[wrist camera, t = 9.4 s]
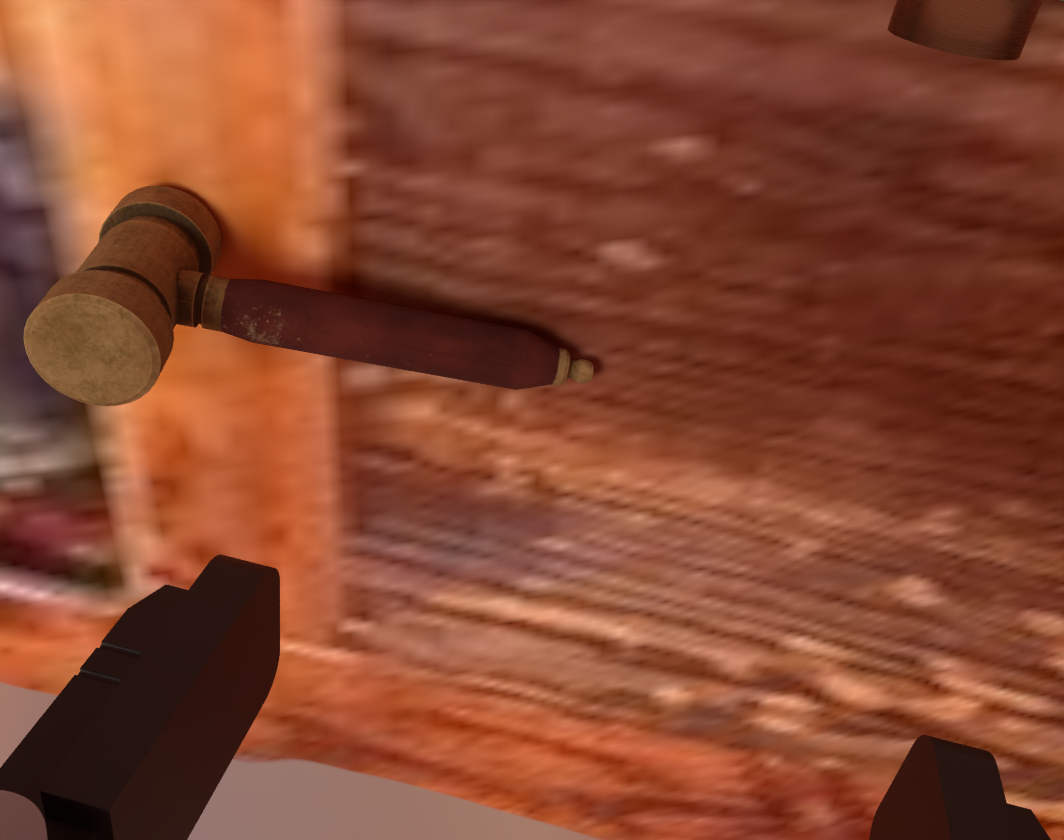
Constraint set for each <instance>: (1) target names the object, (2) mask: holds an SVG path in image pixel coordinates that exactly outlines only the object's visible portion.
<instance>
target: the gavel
mask: <svg viewBox="0 0 1064 840" xmlns="http://www.w3.org/2000/svg"><path fill="white" fill-rule="evenodd" d="M221 249H222V241H221V234H220V231H219V227H218V225H217V223H216V221H215V219H214V217H213V216H212V215H211V213H210V212H209V211H208V209H207V208H206V207H205V206H204V205H203V204H202V203H200V202H199V201H198V200H197V199H195V198H194V197H192V196H191V195H189V194H187V193H185V192H183V191H181V190H178V189H174V188H171V187H166V186H146V187H143V188H139V189H136V190H134V191H133V192H131V193H129V194H128V195H126V196H125V197H124V198H123V199H122V200H121V201H120V202H119V204H118V205H117V206H116V207H115V209H114V210H113V211H112V212H111V214H110V215H109V216H108V218H107V219H106V220H105V222H104V223H103V225H102V228H101V231H100V233H99V243H98V244H97V246H96V247H95V248H94V249H93V251H92V252H91V253H90V255H89V256H88V257H87V258H86V260H85V261H84V262H83V264H82V265H81V266H80V268H79V269H78V270H77V271H76V273H73V274H70V275H68V276H66V277H64V278H62V279H61V280H59V281H58V282H57V283H56V284H55V285H54V286H53V287H52V288H51V289H50V290H49V292H48V293H47V294H46V295H45V297H44V298H43V299H42V300H41V302H40V303H39V304H38V305H37V307H36V308H35V309H34V311H33V312H32V314H31V315H30V316H29V318H28V320H27V323H26V326H25V329H24V344H25V350H26V353H27V355H28V358H29V360H30V362H31V364H32V365H33V367H34V368H35V370H36V371H37V373H38V374H39V375H40V376H41V377H42V378H43V379H44V380H45V381H46V382H47V383H48V384H50V385H51V386H52V387H53V388H55V389H56V390H57V391H59V392H61V393H63V394H64V395H66V396H68V397H70V398H73V399H75V400H78V401H80V402H84V403H88V404H92V405H100V406H116V405H122V404H126V403H130V402H132V401H135V400H137V399H139V398H141V397H142V396H143V395H145V394H146V393H147V392H149V390H150V389H151V388H152V387H153V385H154V384H155V383H156V381H157V379H158V377H159V375H160V373H161V371H162V369H163V367H164V365H165V363H166V361H167V359H168V357H169V355H170V353H171V350H172V347H173V341H174V335H173V329H174V327H175V325H176V324H179V325H184V326H190V327H197V325H198V324H202V328H205V329H210V330H216V331H221V332H225V333H227V334H230V335H233V336H236V337H239V338H242V339H245V340H247V341H250V342H253V343H259V344H264V345H270V346H275V347H281V348H286V349H292V350H298V351H303V352H309V353H314V354H320V355H325V356H331V357H337V358H342V359H348V360H353V361H359V362H364V363H370V364H376V365H381V366H387V367H392V368H398V369H403V370H409V371H415V372H420V373H426V374H431V375H437V376H442V377H448V378H454V379H459V380H465V381H470V382H476V383H481V384H487V385H492V386H498V387H504V388H509V389H515V390H517V389H523V388H530V387H537V386H544V385H551V384H552V385H558V386H559V385H561V384H563V383H564V382H565V381H566V379H567V378H572V379H573V380H574V381H576V382H579V383H586V382H589V381H590V380H591V378H592V376H593V374H594V368H593V364H592V363H591V362H590V361H588V360H585V359H578V360H571V358H570V354H569V352H568V351H567V350H566V349H563V348H558V347H556V346H555V345H553V344H551V343H549V342H547V341H546V340H544V339H542V338H540V337H538V336H537V335H535V334H533V333H531V332H530V331H528V330H525V329H519V328H514V327H509V326H504V325H498V324H493V323H488V322H483V321H477V320H472V319H467V318H462V317H456V316H451V315H446V314H441V313H435V312H430V311H425V310H420V309H414V308H409V307H404V306H399V305H393V304H388V303H383V302H377V301H372V300H367V299H362V298H356V297H351V296H346V295H341V294H335V293H330V292H325V291H320V290H314V289H309V288H304V287H299V286H293V285H288V284H283V283H278V282H272V281H267V280H251V279H229V278H223V277H218V276H213V275H211V274H212V272H213V270H214V268H215V266H216V264H217V262H218V260H219V258H220V254H221Z"/></svg>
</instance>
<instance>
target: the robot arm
mask: <svg viewBox="0 0 1064 840" xmlns="http://www.w3.org/2000/svg"><path fill="white" fill-rule="evenodd" d="M279 655H280V577H279V572H278V570H277V569H276V568H272V567H268V566H264V565H260V564H256V563H252V562H249V561H245V560H241V559H237V558H233V557H229V556H225V555H217V556H216V557H214V558H213V559H212V560H211V561H210V562H209V563H208V565H207V566H206V567H205V569H204V570H203V571H202V573H201V574H200V575H199V577H198V578H197V579H196V581H195V582H194V584H193V585H192V586H191V588H190V589H189V590H185V589H182V588H178V587H174V586H170V585H164V586H163V587H161V588H160V589H158V590H157V591H155V592H153V593H152V594H150V595H149V596H147V597H146V598H144V599H142V600H141V601H139V602H138V603H136V604H135V605H133V606H131V607H130V608H128V609H127V610H126V612H125V613H124V614H123V615H122V617H121V618H120V619H119V620H118V622H117V623H116V624H115V625H114V627H113V628H112V629H111V630H110V632H109V633H108V634H107V635H106V637H105V638H104V639H103V640H102V644H101V646H100V648H96V649H95V650H94V652H93V653H92V654H91V655H90V657H89V658H88V659H87V660H86V662H85V663H84V664H83V665H82V667H81V668H80V672H79V674H78V675H74V677H73V678H72V679H71V680H70V682H69V683H68V684H67V685H66V687H65V688H64V689H63V690H62V692H61V693H60V694H59V695H58V697H57V698H56V699H55V700H54V702H53V703H52V704H51V705H50V707H49V708H48V709H47V710H46V712H45V713H44V714H43V716H42V717H41V718H40V719H39V720H38V722H37V723H36V724H35V725H34V727H33V728H32V729H31V730H30V732H29V733H28V734H27V735H26V737H25V738H24V739H23V740H22V742H21V743H20V744H19V745H18V747H17V748H16V749H15V750H14V752H13V753H12V754H11V755H10V756H9V758H8V759H7V760H6V762H5V763H4V764H3V765H2V767H1V768H0V840H187V839H188V837H189V835H190V833H191V831H192V830H193V828H194V826H195V824H196V823H197V821H198V819H199V817H200V815H201V814H202V812H203V810H204V808H205V807H206V805H207V803H208V801H209V800H210V798H211V796H212V794H213V792H214V791H215V789H216V787H217V785H218V783H219V782H220V780H221V778H222V776H223V775H224V773H225V771H226V769H227V768H228V766H229V764H230V762H231V761H232V759H233V757H234V755H235V753H236V752H237V750H238V748H239V746H240V745H241V743H242V741H243V739H244V737H245V736H246V734H247V732H248V730H249V729H250V727H251V725H252V723H253V721H254V720H255V718H256V716H257V714H258V713H259V711H260V709H261V707H262V705H263V704H264V702H265V700H266V698H267V696H268V694H269V691H270V689H271V686H272V684H273V681H274V678H275V674H276V671H277V667H278V662H279ZM869 840H1051V839H1050V838H1049V836H1048V835H1047V833H1046V832H1045V830H1044V829H1043V827H1042V826H1041V824H1040V823H1039V821H1038V820H1037V818H1036V817H1035V815H1034V814H1033V812H1032V811H1031V810H1030V809H1026V808H1022V807H1019V806H1015V805H1011V804H1007V803H1006V799H1005V795H1004V791H1003V787H1002V783H1001V779H1000V775H999V771H998V767H997V764H996V761H995V759H994V757H993V755H992V754H991V753H990V752H988V751H986V750H982V749H978V748H974V747H970V746H966V745H962V744H958V743H955V742H951V741H947V740H943V739H939V738H935V737H931V736H927V735H922V736H920V737H919V738H918V739H917V740H916V741H915V743H914V744H913V746H912V748H911V749H910V751H909V753H908V755H907V757H906V758H905V760H904V762H903V764H902V766H901V767H900V769H899V771H898V773H897V775H896V776H895V778H894V780H893V782H892V784H891V785H890V787H889V789H888V791H887V793H886V794H885V796H884V798H883V800H882V802H881V803H880V805H879V807H878V809H877V811H876V814H875V816H874V820H873V823H872V828H871V833H870V839H869Z"/></svg>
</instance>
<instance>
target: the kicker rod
mask: <svg viewBox="0 0 1064 840" xmlns="http://www.w3.org/2000/svg"><path fill="white" fill-rule="evenodd" d="M1041 3H1042V0H897V2H896V5H895V8H894V11H893V14H892V17H891V20H890V23H889V26H888V30H889V31H890V32H891V33H892V34H894V35H896V36H898V37H900V38H903V39H905V40H908V41H911V42H914V43H917V44H920V45H923V46H927V47H930V48H934V49H938V50H942V51H946V52H951V53H955V54H960V55H966V56H971V57H977V58H984V59H993V60H1016V59H1018V58H1019V57H1020V55H1021V52H1022V50H1023V47H1024V45H1025V42H1026V40H1027V37H1028V35H1029V32H1030V30H1031V28H1032V25H1033V23H1034V20H1035V18H1036V15H1037V13H1038V10H1039V8H1040V5H1041Z"/></svg>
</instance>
